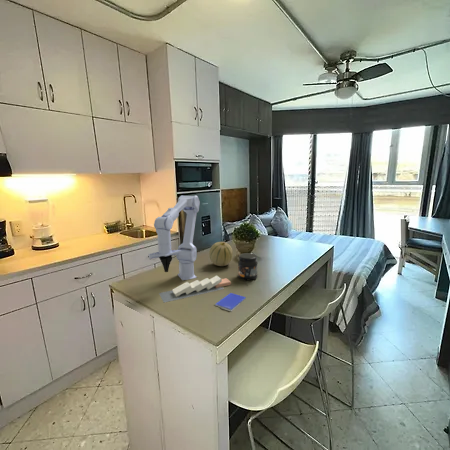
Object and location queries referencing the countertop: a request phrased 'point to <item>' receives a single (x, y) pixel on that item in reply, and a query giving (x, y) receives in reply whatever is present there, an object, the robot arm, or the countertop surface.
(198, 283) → the domino
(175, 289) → the domino
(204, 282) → the domino
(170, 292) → the domino mat
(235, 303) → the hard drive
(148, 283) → the countertop surface
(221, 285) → the salmon orange end domino
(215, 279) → the domino
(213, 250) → the beige rounded lump
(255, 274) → the supplement container
